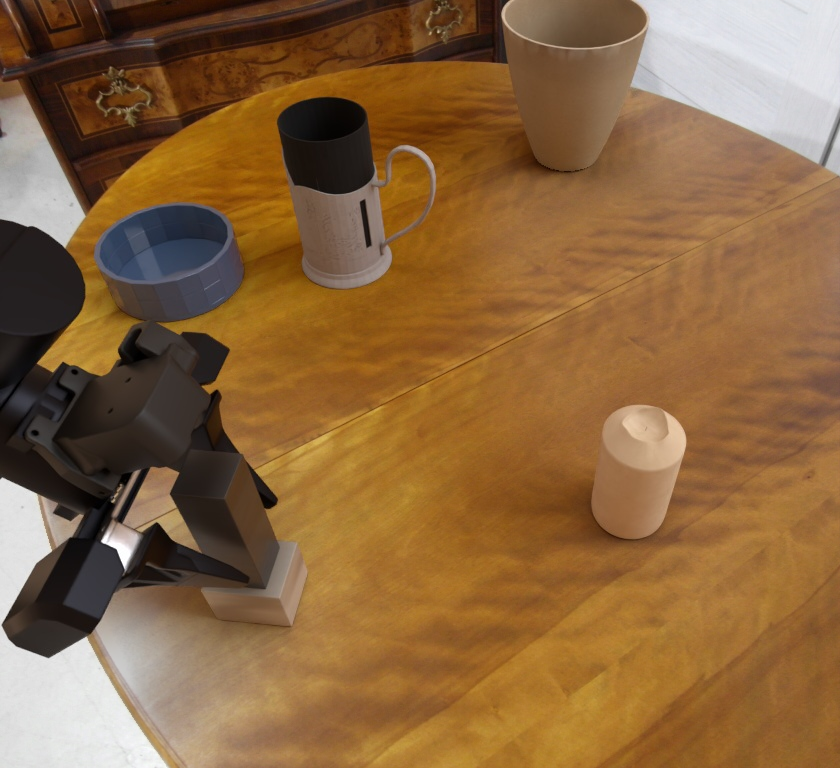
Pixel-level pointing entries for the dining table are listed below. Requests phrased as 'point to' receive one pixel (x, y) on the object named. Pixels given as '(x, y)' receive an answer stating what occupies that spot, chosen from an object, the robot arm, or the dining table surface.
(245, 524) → the dark post on base
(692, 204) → the dining table surface
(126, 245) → the bowl
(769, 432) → the dining table surface
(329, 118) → the glass holder
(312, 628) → the dining table surface
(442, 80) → the dining table surface
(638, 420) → the candle
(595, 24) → the plant pot
